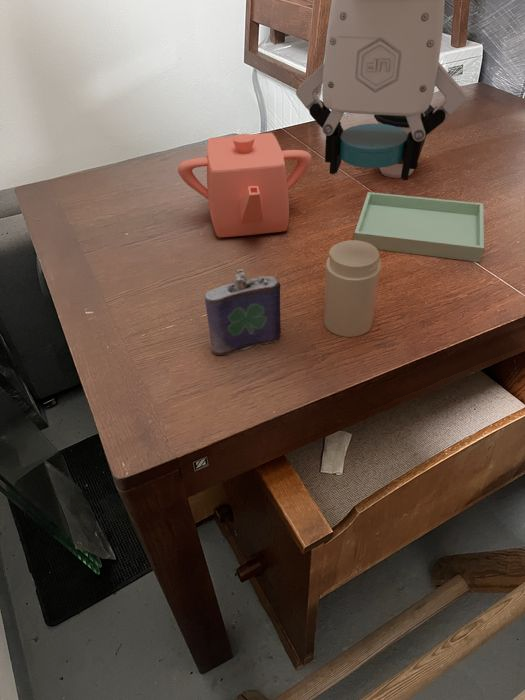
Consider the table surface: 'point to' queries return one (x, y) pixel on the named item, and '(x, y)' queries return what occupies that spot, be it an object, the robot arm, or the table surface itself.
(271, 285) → the flask
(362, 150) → the lid
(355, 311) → the jar
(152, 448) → the table surface
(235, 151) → the teapot
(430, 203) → the tray
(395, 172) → the coffee cup
